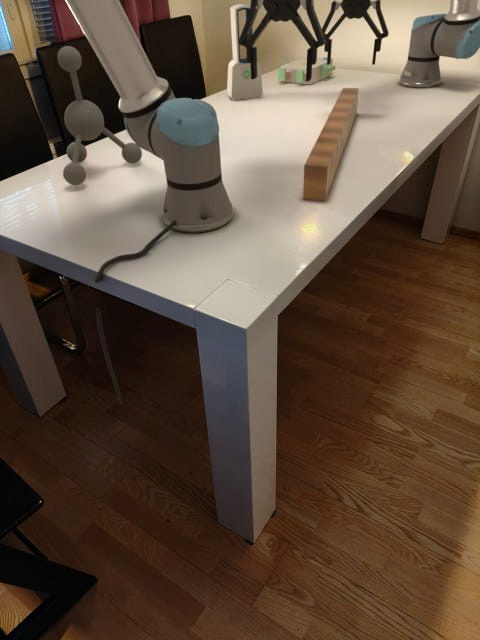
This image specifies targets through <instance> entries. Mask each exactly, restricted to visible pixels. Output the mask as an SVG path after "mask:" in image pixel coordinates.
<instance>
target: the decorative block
mask: <svg viewBox="0 0 480 640" xmlns="http://www.w3.org/2000/svg"><path fill="white" fill-rule="evenodd" d="M333 61H334V59H333V58H331V63H330V64H329V65H328V64H327V57H317V62H316V64H315V65H312V79H311V80H310V81H306V67H307V57H306V58H303V59H302V58H299V59H297V60H295V61H292V62H289V61H285V62H284V63H283V65H280V67H279V68H278V69H277V70H278V71H277V73H278V74H277V76H278V77H277V79H278V82H285V83H286V82H287V83H292V84H293V83H296V84H304V85H312V84H315V83H317V82H319V81H321V80H324V79H326V78H328V77H330V75H332V74H333V71H336V65H333Z"/></svg>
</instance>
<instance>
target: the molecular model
mask: <svg viewBox="0 0 480 640" xmlns="http://www.w3.org/2000/svg"><path fill="white" fill-rule="evenodd" d="M82 59H83V58H82V56H81V52H79V50H78V49H77V48H75V47H73V46H71V45H64V46H62V47H61V48H60V49H59V50H58V52H57V62H58V64H59V66H60V67H61V69H63V70H64V71H66V72H67V73H68V72H69V75H70V79H71V84H72V87H73V92H74V96H75V100H74V101H72V102H71V103H70V104H69V105H67V107H66V109H65V111H64V117H63V118H64V120H63V121H64V126H65V127H66V129H67V131H68V132H69V134H70V135H71V136H72V137H74V141H73V142H71V143H70V144H68V145H67V147H66V157H68V159H69V160H70V161H71V162H69V163H68V164H66V165H65V166H64V168H63V170H62V175H63V179H64V180H65V181H66V182H67V183H68V184H70V185H72V186H79V185H82V184H83V183H84V182H85V181H86V179H87V171H86V169H85V168H84V166H83V165H81V164H80V163H82V162H84V161H85V160H86V159H87V156H88V151H87V148H86V146H85V145H84V144H82V141H84V142H89V141H94V140H96V139H97V138H98V137H100V135H101V134H103V135H104V136H106V137H107V138H108V139H109V140H111V141H112V142H113V143H115V144H116V145H117V146H118V147H119V148H121V157H122V158H123V160H124V161H125V162H126V163H128V164H130V165H131V164H137V163H139V162H140V161H141V159H142V158H143V151H142V148H141V147H139V146H138V145H137V144H136V143H135V142H128V143H124V141H122V140H121V139H120V138H119V137H117V136H116V135H115V134H114V133H113V132H111V131H110V130H109V129H107V128H106V127H105V119H104V115H103V112H102V111H101V109H100V108H99V106H98V105H96V104H95V103H94V102H92V101H90V100H87V99H83V95H82V91H81V87H80V82H79V78H78V74H77V71H78V70H80V69H81V67H82V62H83V60H82Z"/></svg>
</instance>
